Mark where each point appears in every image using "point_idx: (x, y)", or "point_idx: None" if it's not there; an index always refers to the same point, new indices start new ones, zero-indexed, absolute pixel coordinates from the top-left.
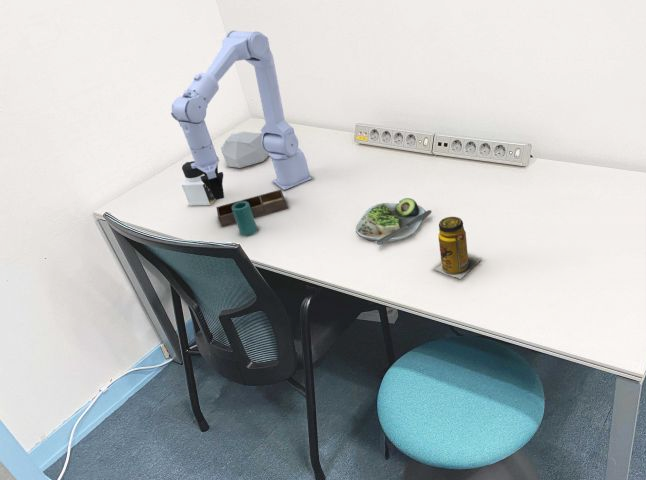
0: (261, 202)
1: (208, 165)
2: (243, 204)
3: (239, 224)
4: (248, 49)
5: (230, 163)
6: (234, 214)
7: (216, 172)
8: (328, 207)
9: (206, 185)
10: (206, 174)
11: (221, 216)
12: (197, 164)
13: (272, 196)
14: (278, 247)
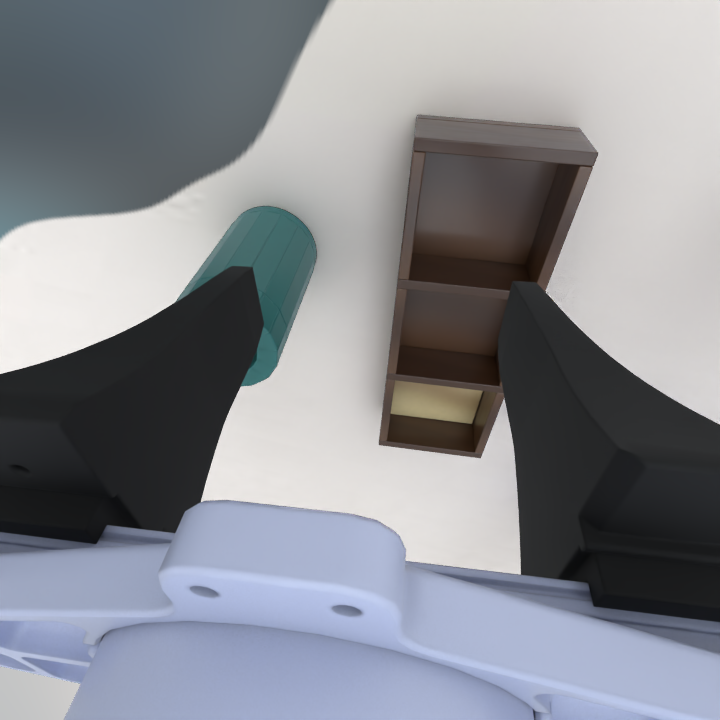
0: (419, 379)
1: (88, 664)
2: (255, 356)
3: (215, 249)
4: None
5: None
6: (201, 278)
7: (521, 458)
8: (306, 481)
9: (60, 357)
10: (553, 387)
11: (415, 163)
12: (139, 657)
13: (481, 413)
14: (94, 314)
